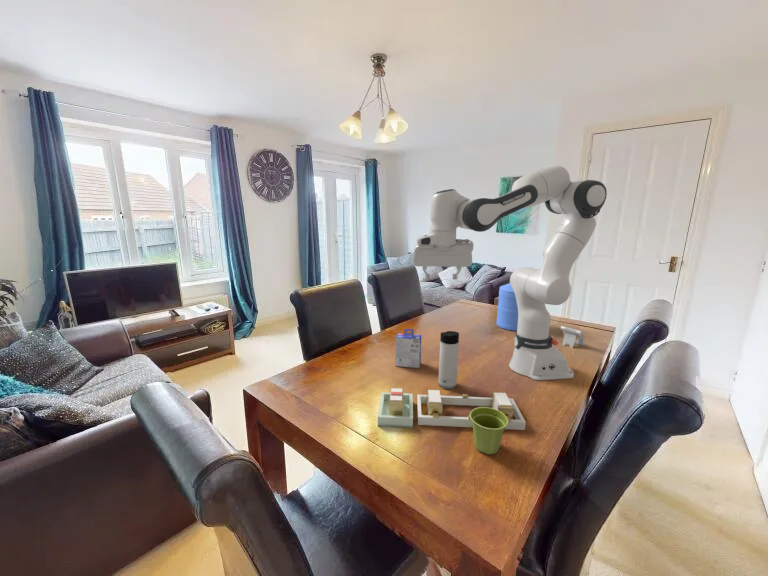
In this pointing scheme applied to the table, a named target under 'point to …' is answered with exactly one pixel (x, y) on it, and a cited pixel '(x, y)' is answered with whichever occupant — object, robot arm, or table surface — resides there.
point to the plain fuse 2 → (502, 403)
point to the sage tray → (396, 421)
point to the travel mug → (448, 359)
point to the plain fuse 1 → (434, 402)
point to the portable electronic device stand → (572, 336)
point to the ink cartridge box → (408, 349)
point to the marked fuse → (396, 402)
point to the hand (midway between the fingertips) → (441, 279)
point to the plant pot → (488, 428)
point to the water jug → (507, 308)
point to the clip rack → (466, 421)
